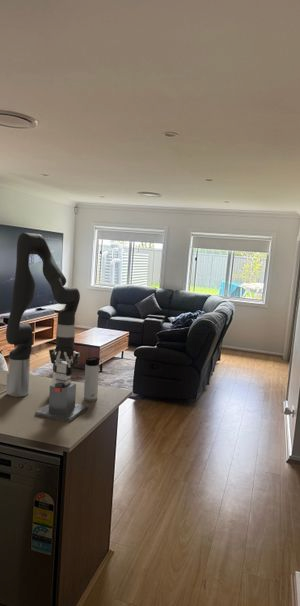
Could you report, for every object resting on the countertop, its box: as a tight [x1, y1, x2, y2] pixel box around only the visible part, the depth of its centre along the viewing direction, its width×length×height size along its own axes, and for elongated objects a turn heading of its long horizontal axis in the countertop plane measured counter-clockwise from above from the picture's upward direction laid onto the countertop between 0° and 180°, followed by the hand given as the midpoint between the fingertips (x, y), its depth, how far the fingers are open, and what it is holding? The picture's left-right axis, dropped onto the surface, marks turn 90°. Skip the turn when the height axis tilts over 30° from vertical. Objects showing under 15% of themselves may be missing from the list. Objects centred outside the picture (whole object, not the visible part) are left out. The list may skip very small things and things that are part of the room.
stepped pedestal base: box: [34, 382, 88, 423], centre depth 175 cm, size 16×16×13 cm
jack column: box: [56, 361, 72, 387], centre depth 174 cm, size 5×5×18 cm
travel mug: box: [83, 356, 101, 402], centre depth 192 cm, size 6×7×20 cm
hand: (63, 374), depth 174 cm, fingers closed on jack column, 4 cm apart
